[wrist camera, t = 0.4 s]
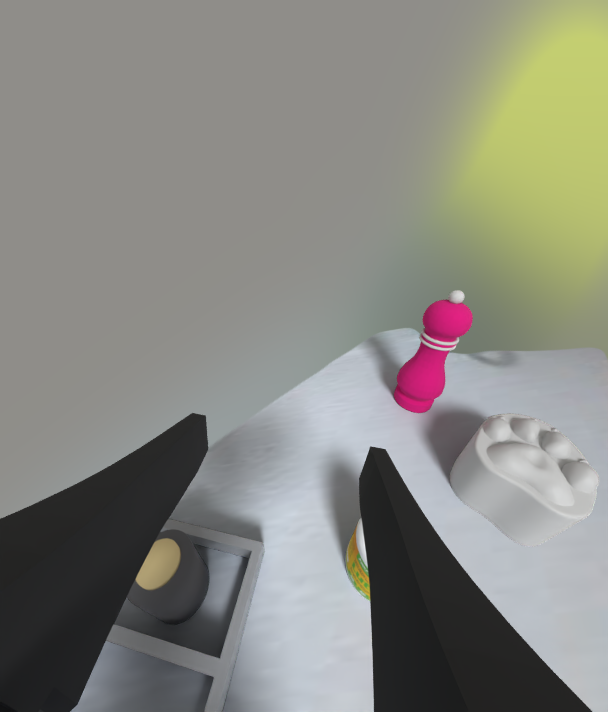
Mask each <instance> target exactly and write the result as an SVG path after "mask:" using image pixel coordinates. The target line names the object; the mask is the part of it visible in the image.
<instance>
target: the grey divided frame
mask: <svg viewBox="0 0 608 712" xmlns="http://www.w3.org/2000/svg"><path fill="white" fill-rule="evenodd" d="M171 529H175V530H180V531H182V532H184V533H185V534H186V535H187V536H188V537H189V539H190V540H191V542H192V543H193V544H197V545H201V546H205V547H208V548H212V549H216V550H220V551H223V552H227V553H231V554H235V555H239V556H242V557H246V558H250V559H249V562H248V566H247V569H246V572H245V576H244V579H243V582H242V586H241V589H240V593H239V596H238V599H237V603H236V606H235V609H234V613H233V616H232V619H231V623H230V626H229V629H228V633H227V636H226V640H225V643H224V646H223V650H222V653H221V656H220V659H219V658H216V657H213V656H210V655H207V654H204V653H201V652H198V651H195V650H192V649H188V648H185V647H182V646H179V645H176V644H173V643H170V642H167V641H164V640H161V639H158V638H155V637H152V636H149V635H146V634H142V633H139V632H136V631H133V630H130V629H127V628H124V627H121V626H118V625H115V624H113V626H112V629H111V631H110V633H109V635H108V637H107V639H106V641H109V642H111V643H114V644H117V645H120V646H123V647H126V648H129V649H132V650H135V651H138V652H141V653H144V654H147V655H150V656H153V657H156V658H159V659H162V660H165V661H168V662H171V663H174V664H177V665H180V666H183V667H186V668H189V669H191V670H194V671H197V672H200V673H203V674H206V675H209V676H212V677H214V680H213V683H212V687H211V690H210V693H209V697H208V700H207V703H206V707H205V710H204V712H222V711H223V707H224V703H225V700H226V696H227V692H228V688H229V684H230V681H231V677H232V673H233V669H234V665H235V662H236V658H237V654H238V650H239V646H240V643H241V639H242V635H243V631H244V627H245V624H246V620H247V616H248V612H249V608H250V604H251V601H252V597H253V593H254V589H255V585H256V582H257V578H258V574H259V570H260V566H261V563H262V559H263V555H264V546H263V542H259V541H255V540H251V539H247V538H243V537H239V536H235V535H231V534H227V533H223V532H219V531H215V530H211V529H208V528H204V527H200V526H196V525H192V524H188V523H184V522H180V521H176V520H172V519H168V520H167V521H166V523H165V525H164V526H163V528H162V530H161V531H160V532H162V531H165V530H171Z"/></svg>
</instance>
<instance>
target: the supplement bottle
mask: <svg viewBox="0 0 608 712" xmlns="http://www.w3.org/2000/svg"><path fill="white" fill-rule="evenodd" d="M345 560H346V570H347V574H348V577H349V579H350V581H351V583H352V585H353V587H354V588H355V590H356V591H357V592H358V593H359V594H360V595H361V596H362V597H363V598H364V599H366V600H367V601H369V602H370V584H369V574H368V565H367V557H366V550H365V542H364V534H363V526H362V518H360V520H359V522H358V524H357V526H356V528H355V531H354V533H353V535H352V538H351V540H350V542H349V545H348V547H347V551H346V559H345Z"/></svg>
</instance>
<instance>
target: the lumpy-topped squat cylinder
mask: <svg viewBox="0 0 608 712" xmlns="http://www.w3.org/2000/svg"><path fill="white" fill-rule="evenodd" d="M450 483H451V486H452V489H453V491H454V493H455V494H456V496H457V497H458V498H459V499H460V500H461V501H462V502H463V503H464V504H466V505H467V506H468V507H470V508H471V509H473V510H475V511H476V512H478V513H479V514H481V515H482V516H484V517H485V518H486V519H488V520H489V521H490V522H491V523H492V524H494V525H495V526H496V527H497V528H498V529H499V530H500V531H501V532H502V533H503V534H505V535H506V536H507V537H508V538H510V539H511V540H513V541H514V542H516V543H518V544H520V545H523V546H527V547H536V546H539V545H541V544H542V543H544V542H546V541H548V540H549V539H551V538H553V537H554V536H556V535H558V534H559V533H561V532H563V531H565V530H566V529H568V528H570V527H571V526H573V525H575V524H576V523H578V522H580V521H582V520H583V519H585V518H587V517H588V516H589V515H590V514H591V512H592V510H593V507H594V503H595V501H596V495H597V489H596V488H597V487H598V485H599V476H598V474H597V472H596V471H595V470H594V469H593V468H592V467H591V466H590V465H589V463H588V462H587V460H586V459H585V457H584V456H583V454H582V453H581V452H580V450H579V449H578V448H577V447H576V446H575V445H574V444H573V443H572V442H571V441H570V440H569V439H568V438H567V437H566V436H565V435H563V434H562V433H561V432H560V431H558V430H557V429H556V428H554V427H553V426H551V425H549V424H547V423H545V422H543V421H541V420H538V419H536V418H533V417H529V416H525V415H519V414H510V413H509V414H500V415H494V416H491V417H489V418H488V419H486V420H485V421H484V422H483V423H482V425H481V426H480V427H479V429H478V430H477V432H476V433H475V434H474V436H473V437H472V438H471V440H470V441H469V442H468V444H467V445H466V447H465V448H464V449H463V451H462V452H461V453H460V455H459V456H458V458H457V459H456V461H455V463H454V465H453V468H452V470H451V473H450Z"/></svg>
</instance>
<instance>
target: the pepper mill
mask: <svg viewBox="0 0 608 712" xmlns="http://www.w3.org/2000/svg"><path fill="white" fill-rule="evenodd" d="M463 299H464V294H463V293H462V292H461V291H459V290H456V291H453V292H452V293H451V294H450V295H449V300H440V301H437V302H435V303H433V304H431V305H430V306H429V307H428V308H427V310H426V311H425V313H424V316H423V324H424V326H425V328H423V330H422V333H421V334H420V337H419V338H420V340H421V344H420V347H419V349H418V351H417V353H416V354H415V356H414V357H412V358H411V359H410V360H409V361H408V362H406V363H405V364H404V365H403V367H402V368H401V369H400V371H399V373H398V375H397V382H398V385H397V387H396V390H395V392H394V398H395V400H396V402H397V403H398V404H399V405H400V406H401V407H403V408H404V409H406V410H409V411H411V412H416V413H423V412H426V411H428V410H429V409H430V408H431V406H432V404H433V402H434V399H435V398H437V397H439V396H440V395H441V394H442V392H443V389H444V386H445V370H444V364H445V359H446V357H447V354H448V353H449V351H450V350H453V349H455V347H456V344H457V343H458V342H459V338H458V337H460V336H462V335H464V334H465V333H466V332H467V331H468V330H469V329H470V327H471V324H472V319H473V318H472V313H471V311H470V309H469V308H468V307H467V306H466V305H464V304H463V303H461V302H462V301H463Z"/></svg>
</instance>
